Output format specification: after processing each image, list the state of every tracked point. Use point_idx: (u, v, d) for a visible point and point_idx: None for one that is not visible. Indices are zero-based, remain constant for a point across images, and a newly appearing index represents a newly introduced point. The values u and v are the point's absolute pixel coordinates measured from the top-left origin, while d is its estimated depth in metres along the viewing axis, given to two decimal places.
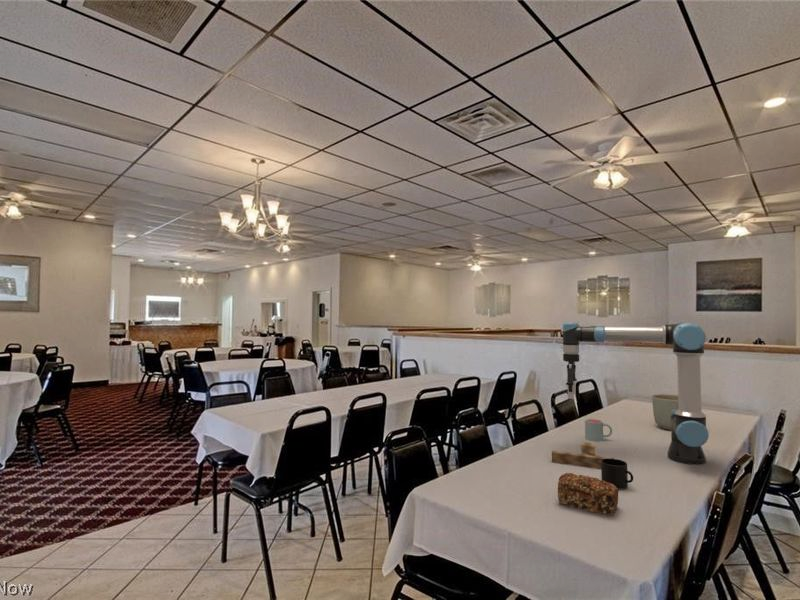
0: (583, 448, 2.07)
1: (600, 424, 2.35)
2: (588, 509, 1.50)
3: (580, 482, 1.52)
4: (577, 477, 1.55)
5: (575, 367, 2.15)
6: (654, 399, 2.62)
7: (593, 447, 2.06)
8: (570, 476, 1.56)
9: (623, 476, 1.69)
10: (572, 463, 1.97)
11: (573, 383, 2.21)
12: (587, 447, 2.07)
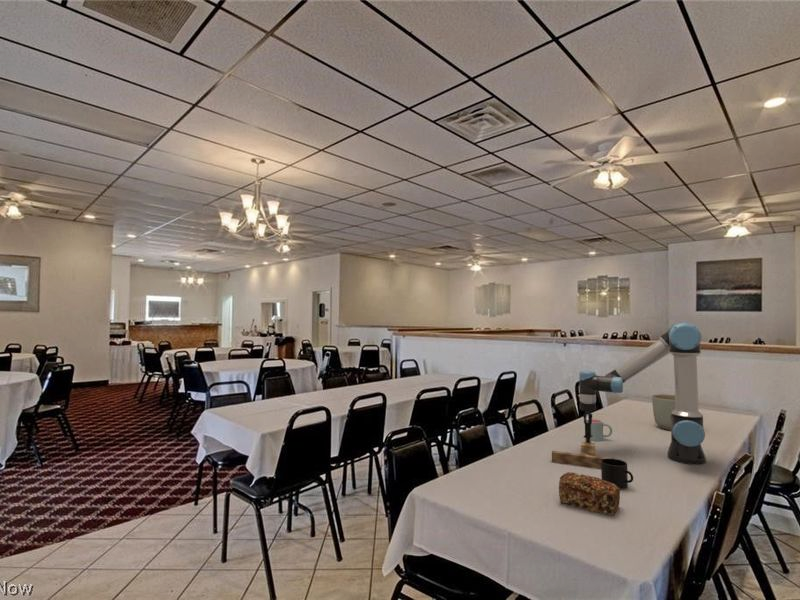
0: (583, 448, 2.07)
1: (600, 424, 2.35)
2: (589, 508, 1.50)
3: (581, 481, 1.53)
4: (578, 476, 1.56)
5: None
6: (654, 399, 2.62)
7: (593, 447, 2.05)
8: (571, 475, 1.57)
9: (623, 476, 1.69)
10: (572, 463, 1.97)
11: None
12: (587, 447, 2.06)
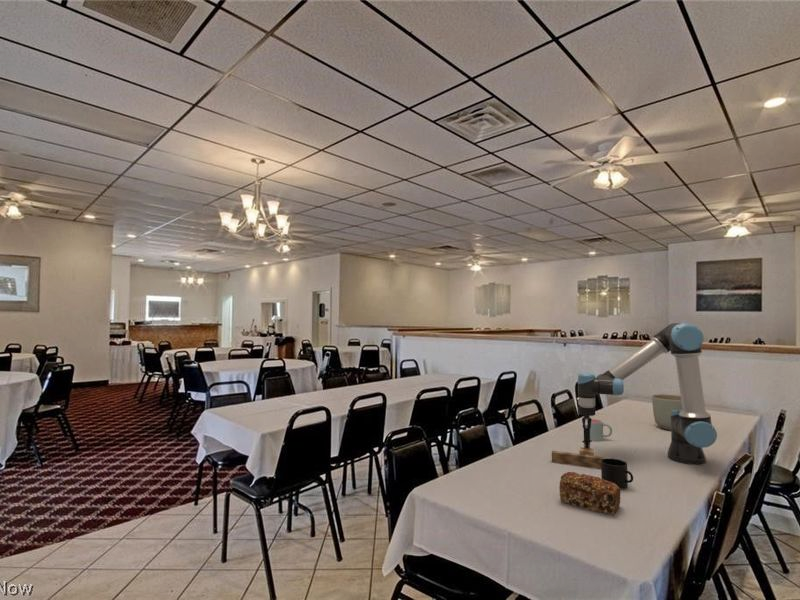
0: (581, 453, 1.98)
1: (600, 424, 2.35)
2: (589, 508, 1.51)
3: (581, 481, 1.53)
4: (579, 476, 1.57)
5: None
6: (654, 399, 2.62)
7: (592, 453, 1.96)
8: (572, 475, 1.57)
9: (623, 476, 1.69)
10: (572, 463, 1.97)
11: None
12: (586, 453, 1.97)
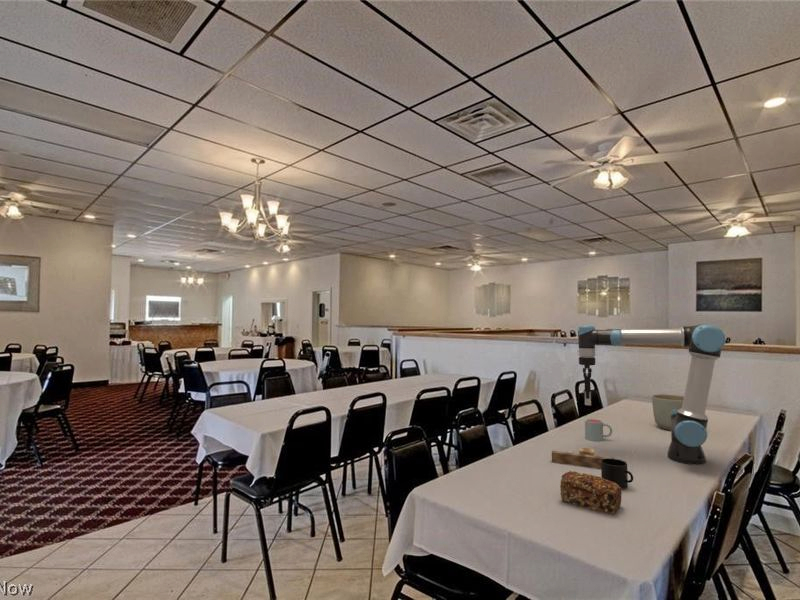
0: None
1: (600, 424, 2.35)
2: (590, 507, 1.51)
3: (582, 480, 1.54)
4: (580, 475, 1.57)
5: None
6: (654, 399, 2.62)
7: (592, 453, 1.96)
8: (573, 474, 1.58)
9: (623, 476, 1.69)
10: (572, 463, 1.97)
11: None
12: (586, 453, 1.97)
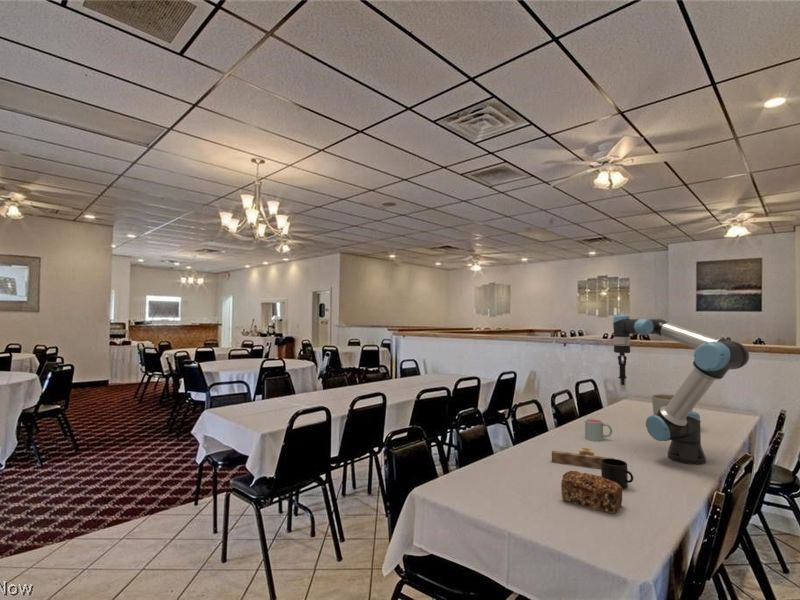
0: None
1: (600, 424, 2.35)
2: (591, 506, 1.52)
3: (583, 480, 1.54)
4: (581, 475, 1.58)
5: None
6: (654, 399, 2.62)
7: (592, 453, 1.96)
8: (574, 474, 1.59)
9: (623, 476, 1.69)
10: (572, 463, 1.97)
11: None
12: (586, 453, 1.97)
